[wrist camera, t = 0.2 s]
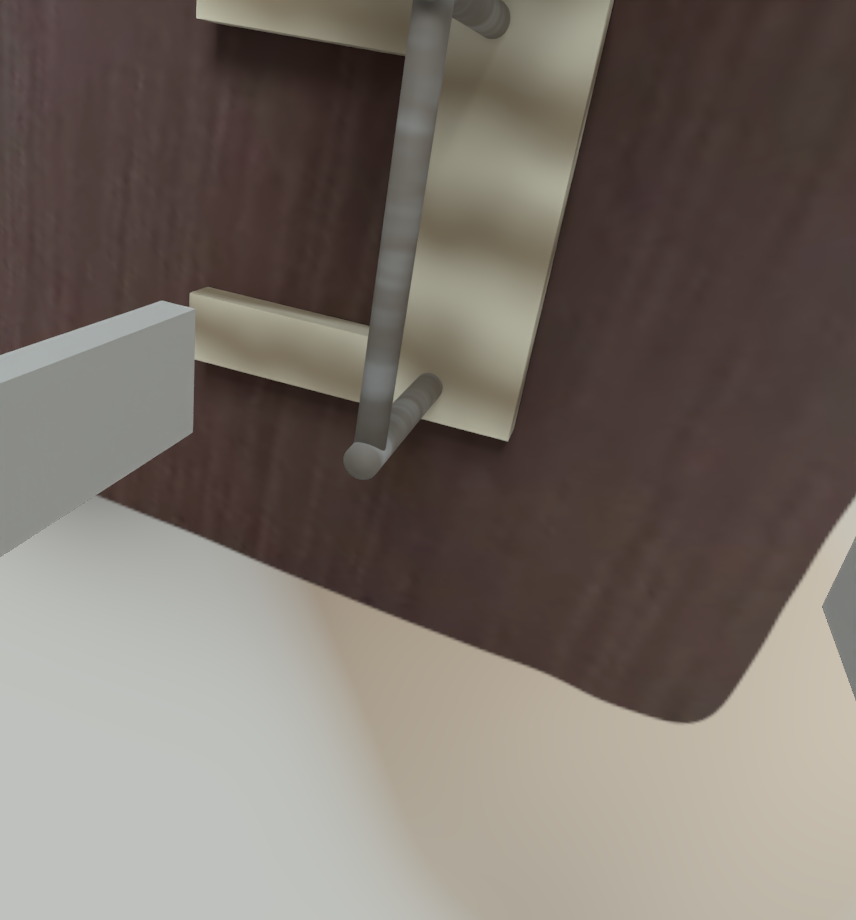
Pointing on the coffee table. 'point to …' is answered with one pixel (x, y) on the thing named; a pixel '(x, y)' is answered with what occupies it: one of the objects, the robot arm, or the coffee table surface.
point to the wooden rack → (435, 214)
